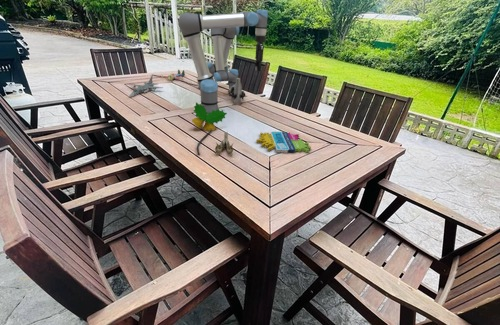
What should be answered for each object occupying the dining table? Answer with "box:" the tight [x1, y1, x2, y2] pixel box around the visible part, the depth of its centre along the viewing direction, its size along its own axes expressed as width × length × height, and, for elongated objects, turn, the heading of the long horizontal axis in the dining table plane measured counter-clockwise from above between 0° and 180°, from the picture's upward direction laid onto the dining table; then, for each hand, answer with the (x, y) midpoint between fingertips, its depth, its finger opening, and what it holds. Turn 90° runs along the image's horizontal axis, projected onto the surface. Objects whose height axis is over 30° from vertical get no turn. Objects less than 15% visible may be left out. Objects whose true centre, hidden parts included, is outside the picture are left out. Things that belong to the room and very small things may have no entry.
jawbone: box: [214, 131, 234, 156], centre depth 136 cm, size 9×15×10 cm
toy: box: [160, 69, 186, 82], centre depth 280 cm, size 28×7×30 cm
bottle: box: [233, 77, 243, 106], centre depth 210 cm, size 6×6×20 cm
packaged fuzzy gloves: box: [256, 131, 312, 154], centre depth 152 cm, size 26×2×30 cm
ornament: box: [191, 102, 228, 132], centre depth 162 cm, size 21×8×15 cm, turn 105°
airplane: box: [127, 74, 164, 98], centre depth 226 cm, size 38×31×10 cm
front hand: (258, 70), depth 192 cm, fingers closed on cap, 4 cm apart
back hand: (238, 97), depth 207 cm, fingers closed on bottle, 6 cm apart
